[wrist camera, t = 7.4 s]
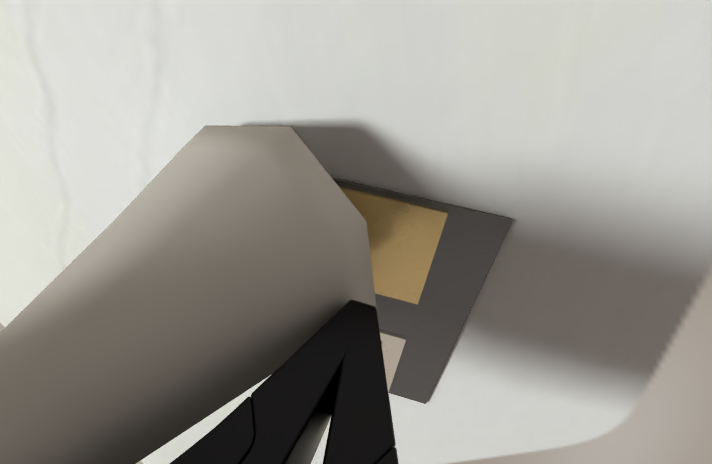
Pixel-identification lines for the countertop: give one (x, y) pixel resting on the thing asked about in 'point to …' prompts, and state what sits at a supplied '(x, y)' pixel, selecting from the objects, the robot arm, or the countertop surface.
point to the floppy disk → (423, 278)
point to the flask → (182, 301)
